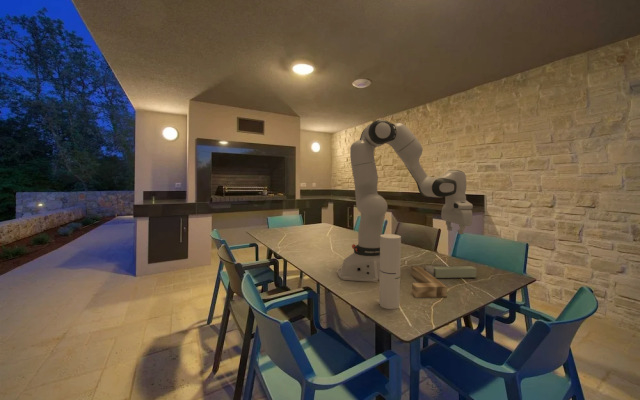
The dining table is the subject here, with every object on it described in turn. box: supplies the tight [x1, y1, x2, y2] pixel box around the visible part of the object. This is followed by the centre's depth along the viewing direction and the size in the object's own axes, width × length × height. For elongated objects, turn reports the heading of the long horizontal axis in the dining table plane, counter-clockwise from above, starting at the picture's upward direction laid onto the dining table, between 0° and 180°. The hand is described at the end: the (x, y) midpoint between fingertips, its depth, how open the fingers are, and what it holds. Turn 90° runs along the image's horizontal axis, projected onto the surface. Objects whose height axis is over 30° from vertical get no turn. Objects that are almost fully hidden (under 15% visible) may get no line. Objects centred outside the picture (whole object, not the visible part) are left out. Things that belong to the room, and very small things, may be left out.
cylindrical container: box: [378, 233, 402, 310], centre depth 91 cm, size 7×7×25 cm
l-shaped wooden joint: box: [410, 265, 448, 298], centre depth 109 cm, size 13×24×4 cm, turn 3°
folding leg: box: [425, 264, 477, 279], centre depth 118 cm, size 23×4×5 cm, turn 92°
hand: (454, 232), depth 124 cm, fingers open, 8 cm apart
